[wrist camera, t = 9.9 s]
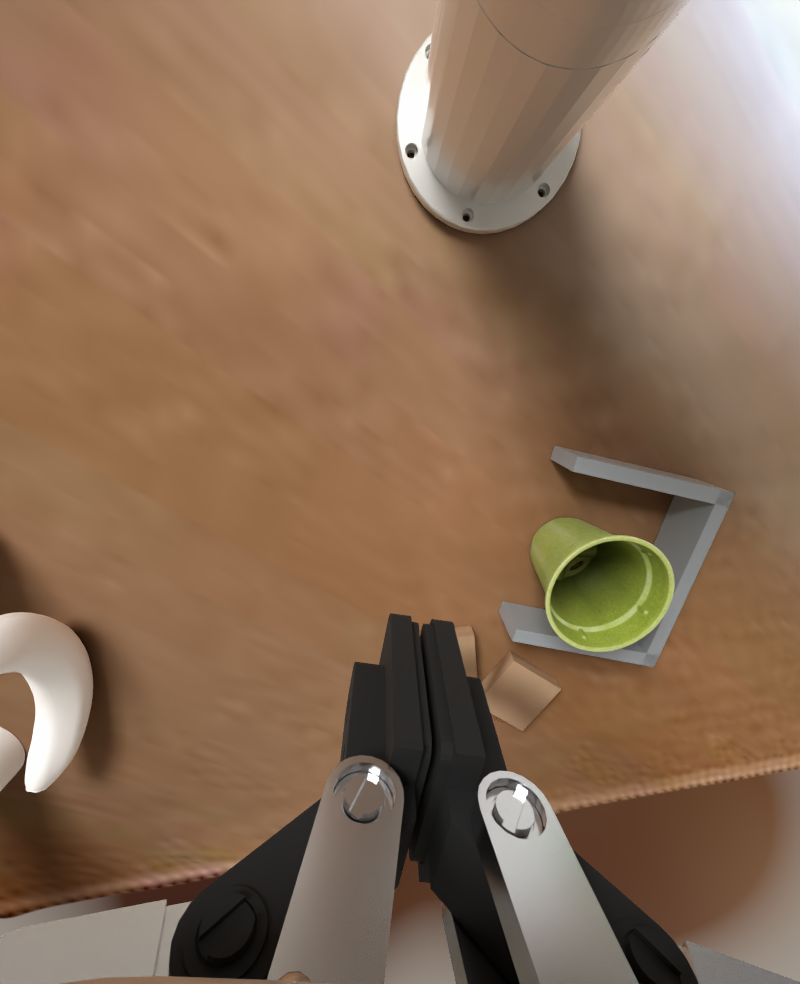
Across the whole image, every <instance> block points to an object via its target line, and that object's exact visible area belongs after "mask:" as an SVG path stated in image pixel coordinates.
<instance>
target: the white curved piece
mask: <svg viewBox="0 0 800 984" xmlns="http://www.w3.org/2000/svg"><path fill="white" fill-rule="evenodd" d="M9 672H18V673H21V674H22V675H23V676H24V678H25V679H26V680H27V682H28V684H29V686H30V688H31V690H32V692H33V695H34V700H35V707H36V714H35V723H34V729H33V736H32V741H31V745H30V749H29V753H28V757H27V763H26V771H25V786H26V791H28V792H33V793H38V792H40V791H42V790H43V791H44V790H46V788H47V787H49V786H50V785H51V784H52V783H53V782H54V781H55V780H56V779H57V778H58V777H59V776H60V775H61V773H62V772H63V771H64V770H65V769H66V767H67V766H68V765H69V763H70V762H71V760H72V759H73V757H74V756H75V754H76V752H77V750H78V748H79V746H80V743H81V741H82V738H83V735H84V732H85V729H86V726H87V723H88V718H89V714H90V710H91V705H92V697H93V675H92V668H91V663H90V659H89V656H88V653H87V651H86V649H85V647H84V645H83V643H82V642H81V640H80V639H79V637H78V636H77V635H76V634H75V633H74V632H73V630H72V629H70V628H69V627H68V626H67V625H65V624H63V623H61V622H59V621H57V620H55V619H53V618H51V617H48V616H44V615H40V614H35V613H28V612H16V613H8V614H3V615H0V674H3V673H9Z"/></svg>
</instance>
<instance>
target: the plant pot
mask: <svg viewBox="0 0 800 984" xmlns="http://www.w3.org/2000/svg"><path fill="white" fill-rule="evenodd" d="M530 558H531V561H532V564H533V566H534V568H535V571H536V573H537V575H538V577H539V580H540V582H541V585H542V587H543V589H544V592H545V611H546V615H547V618H548V621H549V623H550V625H551V627H552V628H553V630H554V631H555V633H556V634H557V635H558V636H559V637H560V638H561V639H562V640H564V641H565V642H566V643H568V644H570V645H571V646H573V647H576V648H578V649H581V650H586V651H592V652H607V651H613V650H617V649H621V648H623V647H626V646H629V645H631V644H633V643H635V642H637V641H638V640H640V639H641V638H643V637H644V636H646V635H647V634H648V633H650V632H651V631H652V630H653V629H654V628H655V627H656V626H657V625H658V624H659V623H660V621H661V619H662V618H663V617H664V615H665V614H666V612H667V610H668V608H669V606H670V603H671V601H672V598H673V593H674V585H675V582H674V574H673V570H672V567H671V564H670V562H669V561H668V559H667V558H666V556H665V555H664V554H663V553H662V552H661V551H660V550H659V549H658V548H657V547H655V546H654V545H652V544H651V543H649V542H647V541H645V540H642V539H640V538H636V537H633V536H626V535H613V534H611V533H608V532H606V531H604V530H602V529H600V528H597V527H595V526H593V525H591V524H589V523H587V522H584V521H582V520H580V519H577V518H557V519H554V520H551V521H549V522H548V523H546V524H545V525H543V526H542V527H541V528H540V529H539V530H538V531H537V532H536V534H535V535H534V537H533V540H532V544H531V550H530ZM581 560H583V562H582V564H581V565H580V566H579V567H577V568H576V569H574V570H570V568H571V567H572V566H574V565H576V564H577V563H578V562H579V561H581Z"/></svg>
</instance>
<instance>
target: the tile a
mask: <svg viewBox="0 0 800 984" xmlns="http://www.w3.org/2000/svg"><path fill="white" fill-rule="evenodd" d="M455 631H456V636H457V640H458V644H459V648H460V652H461V656H462V660H463V664H464V668H465V672H466V676H468V677H476V678H477V666H476V652H475V637H474V633H473V630H472V627H471V625H470V626H462V627H455ZM419 634H421V631H420V632H419Z"/></svg>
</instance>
